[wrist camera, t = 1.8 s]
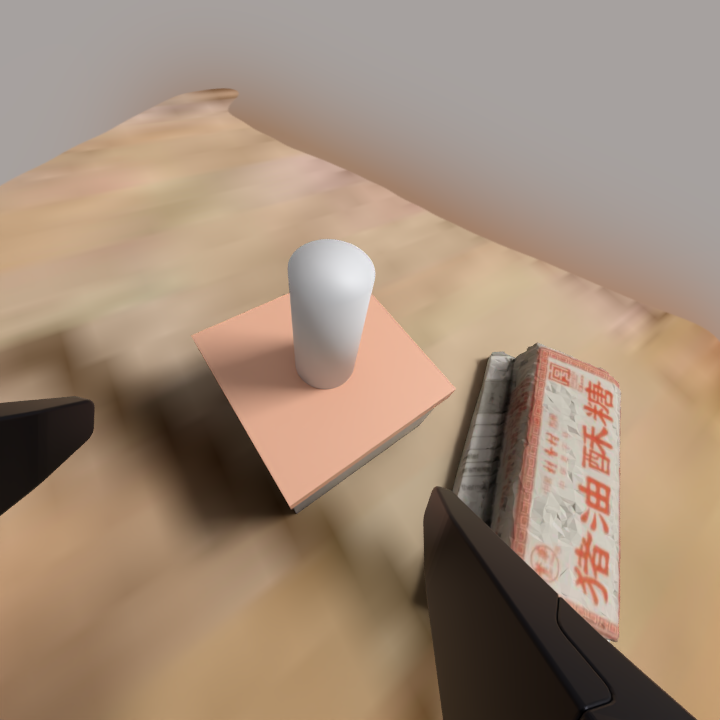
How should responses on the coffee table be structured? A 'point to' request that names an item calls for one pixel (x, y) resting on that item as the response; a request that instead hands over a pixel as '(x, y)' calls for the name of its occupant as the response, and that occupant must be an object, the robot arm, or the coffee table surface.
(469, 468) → the packaged product
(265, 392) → the lid
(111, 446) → the coffee table surface
